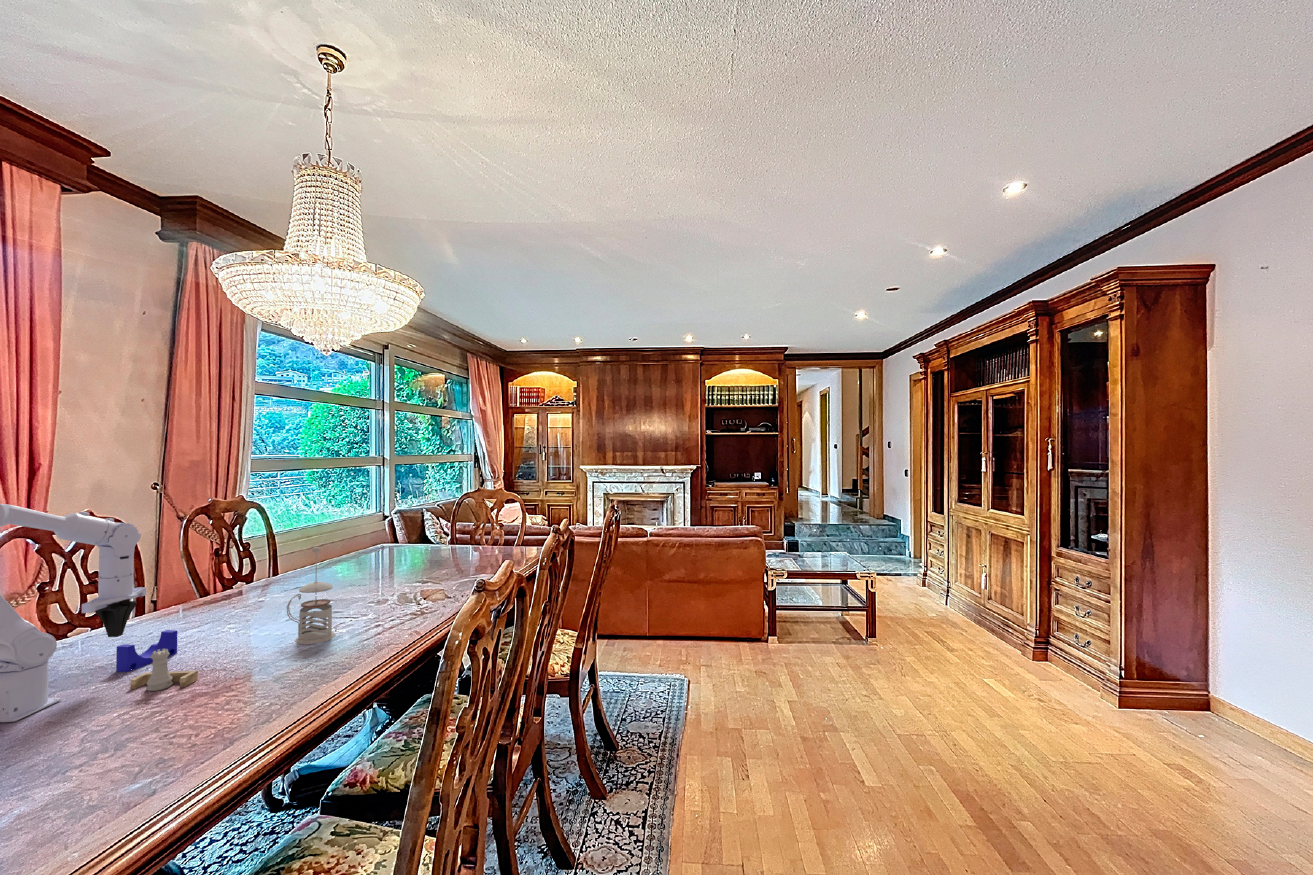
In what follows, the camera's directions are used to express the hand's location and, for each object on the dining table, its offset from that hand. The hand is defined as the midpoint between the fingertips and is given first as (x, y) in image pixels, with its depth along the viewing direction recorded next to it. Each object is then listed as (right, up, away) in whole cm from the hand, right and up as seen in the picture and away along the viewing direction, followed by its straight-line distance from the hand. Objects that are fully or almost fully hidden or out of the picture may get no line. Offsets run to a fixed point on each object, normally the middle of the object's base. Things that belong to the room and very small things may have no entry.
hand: (115, 635), depth 127 cm
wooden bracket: (+13, -10, -2) cm, 17 cm away
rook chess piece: (+14, -10, -4) cm, 17 cm away
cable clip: (-3, -11, +11) cm, 15 cm away
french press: (+27, -11, +28) cm, 40 cm away
